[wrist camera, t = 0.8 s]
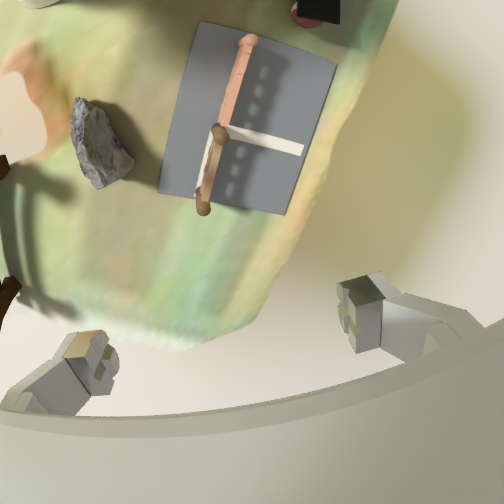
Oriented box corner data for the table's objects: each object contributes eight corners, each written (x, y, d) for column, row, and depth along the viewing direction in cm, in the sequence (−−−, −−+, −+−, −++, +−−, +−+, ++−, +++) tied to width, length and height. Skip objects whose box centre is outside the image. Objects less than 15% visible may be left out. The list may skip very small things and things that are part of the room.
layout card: (200, 21, 34) (200, 21, 33) (335, 64, 41) (336, 64, 40) (157, 192, 47) (157, 193, 47) (283, 214, 54) (283, 215, 54)
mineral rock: (78, 95, 36) (51, 102, 27) (144, 96, 39) (131, 102, 30) (73, 173, 42) (50, 197, 34) (135, 176, 45) (123, 201, 37)
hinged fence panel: (226, 121, 42) (231, 128, 37) (214, 119, 42) (218, 125, 37) (250, 40, 36) (260, 35, 31) (238, 37, 36) (246, 31, 30)
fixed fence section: (212, 121, 42) (216, 129, 37) (225, 124, 43) (231, 132, 37) (194, 196, 48) (195, 214, 43) (206, 198, 49) (209, 217, 43)
